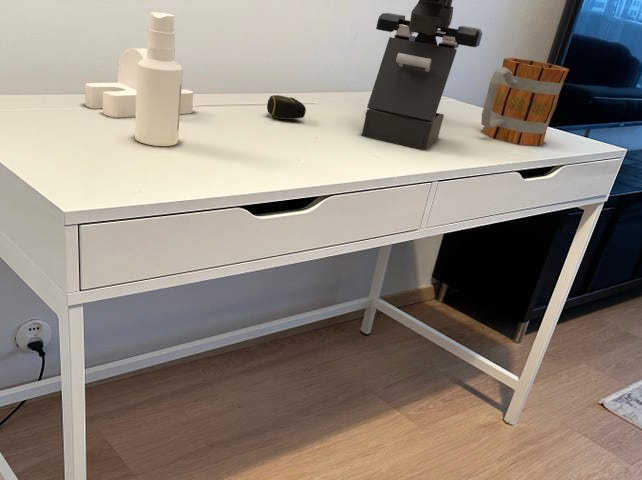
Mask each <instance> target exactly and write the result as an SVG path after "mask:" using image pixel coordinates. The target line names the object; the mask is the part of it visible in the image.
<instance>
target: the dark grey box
mask: <svg viewBox="0 0 642 480" xmlns="http://www.w3.org/2000/svg"><path fill="white" fill-rule="evenodd" d="M444 116H445V114H444V113H440V112H436V115H435V118H434V121H433V122H429V121H424V120H420V119H415V118H411V117H406V116H401V115H397V114H392V113H388V112H383V111H379V110H374V109H369V108H367V109H366V111H365V117H364V122H363V127H362V131H361V136H362V137H366V138H370V139H374V140H379V141H384V142H387V143H391V144H396V145H399V146H404V147H409V148H413V149H418V150H422V151H426V150H427V149H429V148H430V146H432V145H433V144H434V143H435V142H436V141H437V140H438V139H439V134H440V132H441V128H442V124H443V120H444Z"/></svg>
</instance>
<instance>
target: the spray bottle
mask: <svg viewBox="0 0 642 480" xmlns="http://www.w3.org/2000/svg"><path fill="white" fill-rule="evenodd" d="M175 17H176V16H175V15H174V14H171V13H166V12H159V11H151V12H150V25H149V28H148V36H147V37H148V38H147V45H146V49H147V57H146V58H144V59H142V60H141V61H139V62H138V64H137V87H136V117H134V118H135V119H134V121H135V122H134V123H135V124H134V138H135V140H136V141H138V142H140V143H142V144H145V145H149V146H153V147H154V146H155V147H171V146H175V145H176V144H178V142H179V131H180V116H181V114H180V104H181V90H182V89H183V88H182V87H183V74H184V73H183V72H184V70H183V67H182V65H180V64H179V63H178V62H177V61H176V60H175V52H176V51H175V50H176V49H175V45H176V43H175V42H176V41H175V40H176V32H175Z"/></svg>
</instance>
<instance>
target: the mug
mask: <svg viewBox="0 0 642 480" xmlns="http://www.w3.org/2000/svg"><path fill="white" fill-rule="evenodd" d="M569 72H570V68H567V67H564V66H560V65H556V64H552V63H548V62H542V61H537V60H531V59H525V58H517V57H505V58H503V62H502V67H500V68H499V69H497V70H495V71H494V72H493V74H492V77H491V79H490V81H489V84H488V89H487V93H486V94H487V95H486V98H485V101H484V105H483V108H482V112H481V125H482V126H483V128H482V131H481V133H483V134H484V135H486V136H489V137H490V138H492V139H495V140H498V141H502V142H507V143H511V144H515V145H519V146H520V145H521V146H532V147H540V146H541V145H542V144H543V143H545V139H546V134H547V130H548V127H549V125H550V122H551V119H552V117H553V114H554V113H555V110H556V108H557V104H558V101H559V97H560V94H561V90H562V88H563V85H564V82H565V80H566V78H567V76H568V73H569Z"/></svg>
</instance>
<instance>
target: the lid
mask: <svg viewBox="0 0 642 480" xmlns="http://www.w3.org/2000/svg"><path fill="white" fill-rule="evenodd" d="M457 50H458V48H455V49H452V48H447V47H441V46H436V45H430V44H425V43H420V42H414V41H409V40H403V39H398V38H394V36H393V37H391V36H389V37H388V40H387V43H386V47H385V50H384V52H383V55H382V56H383V57H382V59H381V61H380V65H379V68H378V71H377V75H376V78H375V80H374V81H375V82H374V84H373V87H372V90H371V94H370V97H369V99H368V103H367V105H366V107H367V109H374V110H379V111H383V112H388V113H392V114H397V115H401V116H406V117H411V118H415V119H420V120H424V121H429V122H433V121H434V118H435V115H436V113H438V108H439V106H440V102H441V99H442V96H443V94H444V90H445V87H446V86H447V85H446V84H447V82H448V79H449V75H450V72H451V69H452V66H453V63H454V60H455V57H456V54H457V52H458V51H457Z"/></svg>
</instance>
